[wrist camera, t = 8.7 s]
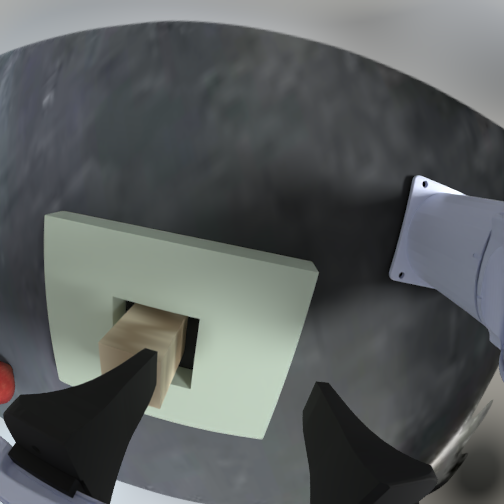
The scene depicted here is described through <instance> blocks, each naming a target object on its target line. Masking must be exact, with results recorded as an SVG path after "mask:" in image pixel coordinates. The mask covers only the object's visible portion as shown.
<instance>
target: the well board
mask: <svg viewBox="0 0 504 504" xmlns="http://www.w3.org/2000/svg"><path fill="white" fill-rule="evenodd" d="M44 269H45V287H46V299H47V309H48V318H49V326H50V333H51V339H52V345H53V351H54V356H55V361H56V366H57V371H58V375H59V379H60V380H61V381H63V382H65V383H67V384H69V385H71V386H73V387H74V386H77V385H80V384H83V383H85V382H88V381H90V380H93V379H95V378H97V377H99V376H101V375H102V374H101V366H100V356H99V345H98V342H99V341H100V340H101V339H102V338H103V337H104V336H105V335H106V333H107V332H108V331H109V330H110V329H111V328H112V327H113V326H114V325H115V324H116V323H117V322H118V321H119V320H120V319H121V318H122V316H123V315H124V314H125V313H126V300H127V301H131V302H134V303H138V304H142V305H145V306H149V307H153V308H157V309H161V310H165V311H169V312H173V313H177V314H181V315H185V316H189V317H193V318H198V319H200V322H199V329H198V336H197V343H196V350H195V358H194V366H193V370H191V369H187V368H183V367H179V366H178V368H177V370H176V372H175V375H174V377H173V379H172V382H171V384H170V386H169V389H168V391H167V393H166V396H165V398H164V401H163V403H162V405H161V408H160V409H158V408H154V407H151V406H148V407H147V409H146V411H145V412H144V414H147V415H150V416H153V417H157V418H160V419H164V420H167V421H171V422H175V423H179V424H183V425H187V426H191V427H195V428H200V429H204V430H209V431H214V432H219V433H224V434H230V435H236V436H242V437H249V438H257V439H263V437H264V434H265V432H266V429H267V427H268V424H269V422H270V419H271V417H272V414H273V411H274V409H275V406H276V403H277V401H278V398H279V395H280V393H281V390H282V387H283V384H284V382H285V379H286V376H287V373H288V370H289V367H290V364H291V362H292V359H293V356H294V353H295V350H296V347H297V344H298V340H299V337H300V334H301V331H302V328H303V325H304V322H305V318H306V315H307V312H308V309H309V305H310V302H311V298H312V295H313V292H314V288H315V285H316V281H317V278H318V274H319V272H318V270H317V269H316V267H315V265H314V264H313V262H312V261H307V260H302V259H297V258H293V257H288V256H283V255H278V254H273V253H268V252H264V251H259V250H254V249H249V248H244V247H239V246H234V245H230V244H225V243H220V242H215V241H210V240H205V239H200V238H195V237H191V236H186V235H181V234H176V233H171V232H166V231H161V230H156V229H151V228H146V227H141V226H136V225H132V224H127V223H122V222H117V221H112V220H107V219H102V218H97V217H92V216H87V215H82V214H77V213H72V212H67V211H60V212H56V213H51V214H47V215H45V221H44Z"/></svg>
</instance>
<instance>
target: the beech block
mask: <svg viewBox="0 0 504 504" xmlns="http://www.w3.org/2000/svg"><path fill="white" fill-rule="evenodd" d="M187 322H188V316H185V315H181V314H177V313H173V312H169V311H165V310H161V309H157V308H153V307H149V306H145V305H142V304H138V303H135V304H134V305H133V306H132V307H131V308H130V309H129V310H128V311H127V312H126V313H125V314H124V315H123V316H122V318H121V319H120V320H119V321H118V322H117V323H116V324H115V325H114V326H113V327H112V328H111V329H110V330H109V331H108V332H107V333H106V335H105V336H104V337H103V338H102V339H101V340H100V341H99V342H98V345H99V356H100V366H101V374H102V375H103V374H105V373H106V372H108V371H110V370H112V369H114V368H115V367H117V366H118V365H120V364H122V363H123V362H125V361H126V360H128V359H129V358H131V357H132V356H134V355H135V354H137V353H138V352H139V351H141V350H142V349H144V348H147V349H151V350H154V351H158V355H157V384H156V387H155V390H154V393H153V396H152V398H151V401H150V403H149V405H148V406H151V407H154V408H158V409H160V408H161V405H162V403H163V401H164V398H165V396H166V393H167V391H168V389H169V386H170V384H171V382H172V379H173V377H174V375H175V372H176V370H177V368H178V365H179V363H180V361H181V358H182V356H183V354H184V350H185V340H186V331H187Z"/></svg>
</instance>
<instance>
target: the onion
mask: <svg viewBox="0 0 504 504" xmlns="http://www.w3.org/2000/svg"><path fill="white" fill-rule="evenodd" d="M14 390H15V381H14V376H13V369H12V367H11V366H10V365H9V364H6V363H4V362H1V361H0V404H4V403H7V402H8V401H10V400H11V398H12V396H13V394H14Z"/></svg>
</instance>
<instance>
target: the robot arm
mask: <svg viewBox="0 0 504 504" xmlns="http://www.w3.org/2000/svg"><path fill="white" fill-rule="evenodd" d="M423 181H424V182H425V187H423V185H422V183H423ZM401 272H402V276H401V277H399V274H400V273H401ZM389 277H390V278H391V279H392V280H394V281H399V282H404V283H409V284H414V285H419V286H423V287H428V288H433V289H436V290H438V291H439V292H441V293H442V294H443V295H445V296H446V297H447V298H449V299H450V300H452V301H453V302H454V303H456V304H457V305H458V306H460V307H461V308H462V309H464V310H465V311H466V312H468V313H469V314H470V315H472V316H473V317H474V318H475V319H477V320H478V321H479V322H481V323H482V324H483V325H484V326H486V327H487V329H488V330H489V333H490V341H491V342H492V343H493V344H494V345H495V346H496V347H498V348H499V349H500V350H501V353H500V358H499V370H500V375H501V378H502V380H503V382H504V202H503V201H497V200H491V199H485V198H479V197H472V196H467V195H465V194H462V193H460V192H458V191H456V190H454V189H451V188H449V187H447V186H445V185H442V184H440V183H437V182H435V181H433V180H430V179H428V178H425V177H423V176H419V175H417V176H414V178H413V180H412V184H411V189H410V194H409V199H408V203H407V208H406V212H405V216H404V220H403V224H402V228H401V232H400V236H399V240H398V243H397V247H396V250H395V254H394V257H393V261H392V264H391V267H390V271H389ZM157 355H158V351H154V350H151V349H147V348H144V349H142V350H141V351H139V352H138V353H137V354H135V355H134V356H132V357H131V358H129V359H128V360H126V361H125V362H123V363H122V364H120V365H118V366H117V367H115V368H114V369H112V370H110V371H108V372H106V373H105V374H103V375H101V376H99V377H97V378H95V379H93V380H90V381H88V382H85V383H83V384H80V385H77V386H74V387H70V388H67V389H63V390H59V391H54V392H48V393H41V394H27V395H20V396H19V397H18V398H17V399H16V400H15V401H14V402H13V403H12V404H11V405H10V406H9V407H8V408H7V410H6V411H5V412H4V414H3V416H4V421H5V423H6V425H7V427H8V429H9V431H10V433H11V435H12V437H13V438H14V440H15V442H16V443H15V445H14V446H13V447H12V446H11V445H10V444H9V443H8V442H7V441H6V440H5V439H3V438H2V437H1V436H0V501H1V502H2V503H3V504H110V501H111V496H112V493H113V489H114V486H115V482H116V479H117V476H118V472H119V469H120V466H121V463H122V460H123V457H124V455H125V452H126V449H127V446H128V444H129V441H130V439H131V437H132V435H133V433H134V431H135V429H136V427H137V426H138V424H139V422H140V420H141V418H142V416H143V414H144V412H145V411H146V409H147V407H148V405H149V403H150V401H151V398H152V396H153V393H154V390H155V387H156V384H157ZM303 433H304V439H305V445H306V451H307V457H308V463H309V470H310V504H419V501H420V500H421V499H423V497H425V496H426V495H427V494H428V493H429V492H430V491H431V490H432V489H433V488H434V487H435V486H436V484H437V482H438V479H437V477H436V475H435V473H434V471H433V468H432V466H431V465H428V464H426V463H423V462H421V461H418V460H416V459H413V458H411V457H409V456H407V455H405V454H403V453H402V452H400V451H398V450H396V449H395V448H393V447H392V446H390V445H389V444H387V443H386V442H384V441H383V440H382V439H380V438H379V437H378V436H377V435H376V434H374V433H373V432H372V431H371V430H370V429H369V428H367V427H366V426H365V425H364V424H363V423H362V422H361V421H360V420H359V419H358V418H357V416H356V415H355V414H354V413H353V412H352V411H351V410H350V409H349V407H348V406H347V405H346V404H345V403H344V401H343V400H342V399H341V398H340V397H339V395H338V394H337V393H336V391H335V390H334V389H333V388H332V387H331V385H330V384H329V383H325V382H316V383H315V385H314V387H313V390H312V392H311V394H310V397H309V399H308V401H307V403H306V406H305V408H304V410H303Z"/></svg>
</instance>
